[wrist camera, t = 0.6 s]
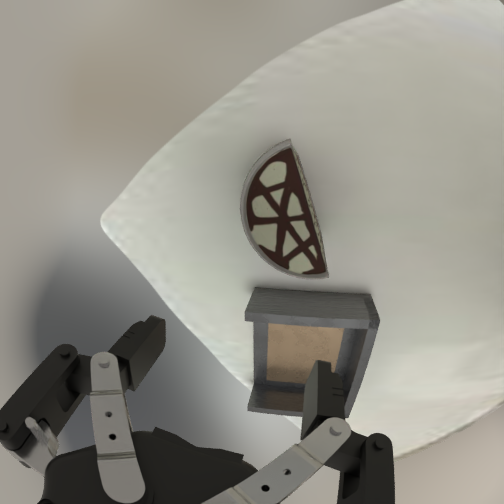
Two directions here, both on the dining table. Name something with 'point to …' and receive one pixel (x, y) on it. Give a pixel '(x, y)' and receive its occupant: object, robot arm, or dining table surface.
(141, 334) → the robot arm
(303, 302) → the keeper cradle
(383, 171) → the dining table surface
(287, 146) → the food container
